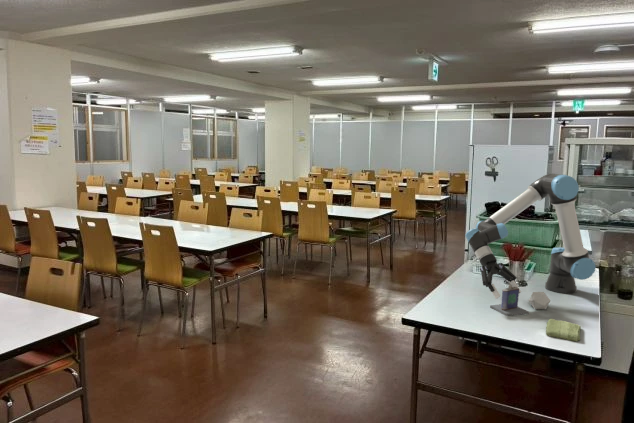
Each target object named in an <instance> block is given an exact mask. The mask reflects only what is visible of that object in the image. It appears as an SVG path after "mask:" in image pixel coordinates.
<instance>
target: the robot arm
mask: <svg viewBox="0 0 634 423" xmlns="http://www.w3.org/2000/svg"><path fill="white" fill-rule="evenodd" d="M579 190H580V187H579V184H578V182H577V180H576V179H575V178H574V177H572V176H570V175H567V174H557V173H548V174H544V175H542V176H541V177H539V178H538V179H536V180H535V181H534V182H532V183H531V184H530V185H528V186H527V189H526V190H525V191H523V192H522V193H521V194H519V195H518V196H516V197H515V198H513V199H512V200H511V201H509V202H508V203H507V204H505V205H504V206H503V207H502V208H500V209H499V210H497V211H496V212H494V213H493V214H492V215H490V216H488V218H486V219H485V220H479V221H478V222H477V223H476V225H475V228H472V229H469V230H468V231H467V232H466V233H465V238H466V240H467V243H468V244H469V246H470V247H471V250H472V251H473V252H474V254H475V256H476V258H477V260H478V261H479V264H480V265H481V267H480V268H479V270H480V273H481V280H482V281H481V282H482V285H483V286H485V288H488V289H489V291H490V292H491V293H492V294H493V296H494V298H495V299H497V300H498V299H499V298H500V297H501V294H500V292H499V291H498V289H497V287H496V286H495V283H493V275H498V276H500V277H502V278H503V279H504V280H507V281H508V282H509V284H511V285H512V287H517V288H519V286H518V284H517V281H516V279H517V276H516V275H515V274H514V273H513V272H512V271H511V270H509V269H508V268H507V266H505V264H504V263H502V262H501V263H497V261H498V259H497V258H496V256H495V254H494V253H493V250H492V249H491V247H490V246H489V245H490V244H492V243H495V242H498V241H500V240H503V239H504V238H507V237H508V235H509V231H508V228H507V226H506V224H507V223H508V222H510V221H511V220H512V219H514V218H515V217H516V216H518V215H519V214H521V213H522V212H523V211H524V210H526V209H528V208H529V207H530V206H532V205H533V204H535V203H536V202H538V201H542V200H544V199H545V198H549V201H550V204H551V205H552V206H554V210H555V213H556V217H557V222H558V226H559V231H560V236H561V240H562V243H563V247H560V246H559V247H553V248H552V250H551V252H550V266H549V275H548V277H547V280H546V282H545V285H544V287H545V288H544V289H546V290H549V291H551V292H555V293H560V294H561V293H562V294H574V293H576V292H577V291H578V289H577V285H576V281H575V279H577V280H580V281H581V280H582V281H583V280H584V281H585V280H587V279H589V278H591V277H592V276H593V274H594V273H595V271H596V263H595V262H594V260H593V259H592V258H590V254H589V251H588V249H586V248H585V247H584V244H583V243H584V242H583V239H582V235H581V229H580V225H579V220H578V216H577V211H576V207H575V202H576V201H577V195H578V193H579ZM521 293H522V291H521V290H520V288H519V294H521Z"/></svg>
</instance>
